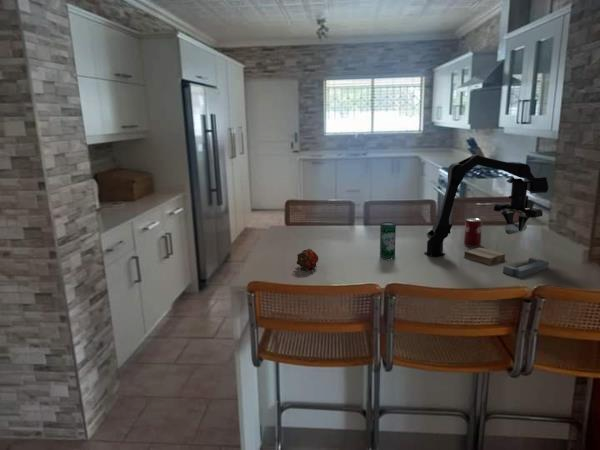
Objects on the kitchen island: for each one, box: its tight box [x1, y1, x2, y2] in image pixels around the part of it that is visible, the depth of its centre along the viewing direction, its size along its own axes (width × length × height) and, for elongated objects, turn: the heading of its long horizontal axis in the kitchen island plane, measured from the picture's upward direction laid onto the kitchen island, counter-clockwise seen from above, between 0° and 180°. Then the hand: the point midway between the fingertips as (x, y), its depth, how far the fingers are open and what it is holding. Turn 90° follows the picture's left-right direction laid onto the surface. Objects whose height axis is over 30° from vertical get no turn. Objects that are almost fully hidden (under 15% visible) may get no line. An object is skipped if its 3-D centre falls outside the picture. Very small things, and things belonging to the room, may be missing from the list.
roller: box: [504, 221, 528, 235], centre depth 188 cm, size 9×4×4 cm, turn 122°
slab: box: [463, 246, 506, 265], centre depth 187 cm, size 10×12×3 cm
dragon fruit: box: [296, 248, 319, 270], centre depth 181 cm, size 8×8×12 cm
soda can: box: [463, 217, 483, 248], centre depth 205 cm, size 7×7×12 cm
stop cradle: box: [502, 257, 550, 279], centre depth 171 cm, size 18×7×2 cm, turn 122°
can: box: [379, 221, 397, 260], centre depth 190 cm, size 6×6×15 cm
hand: (515, 230), depth 188 cm, fingers closed on roller, 4 cm apart
